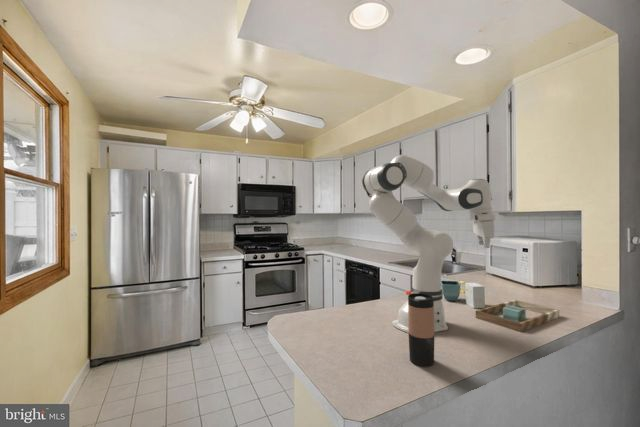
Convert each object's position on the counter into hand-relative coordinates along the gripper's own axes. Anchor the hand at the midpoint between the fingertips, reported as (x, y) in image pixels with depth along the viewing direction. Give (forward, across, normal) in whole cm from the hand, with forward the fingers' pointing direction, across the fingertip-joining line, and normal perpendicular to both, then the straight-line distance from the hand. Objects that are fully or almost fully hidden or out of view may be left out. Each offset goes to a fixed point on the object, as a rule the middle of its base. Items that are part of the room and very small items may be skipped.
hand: (484, 246), depth 130 cm
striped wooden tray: (+32, +1, +10) cm, 33 cm away
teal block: (+32, +3, +8) cm, 33 cm away
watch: (+32, -38, -4) cm, 50 cm away
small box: (+31, -12, -4) cm, 33 cm away
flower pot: (+31, -20, -14) cm, 39 cm away
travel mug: (+26, +50, -32) cm, 65 cm away
